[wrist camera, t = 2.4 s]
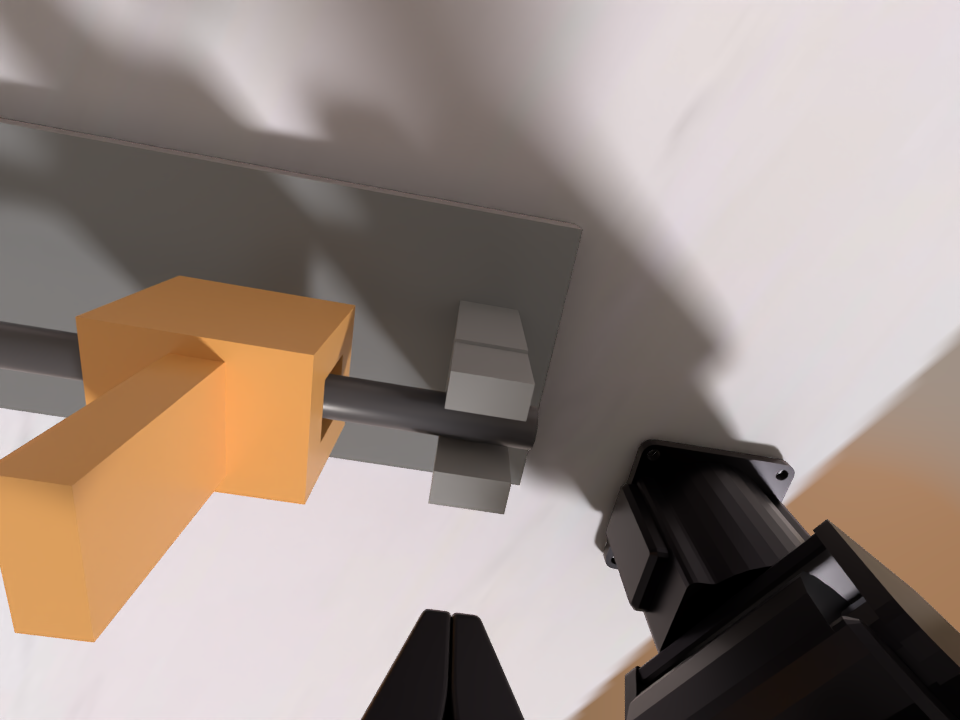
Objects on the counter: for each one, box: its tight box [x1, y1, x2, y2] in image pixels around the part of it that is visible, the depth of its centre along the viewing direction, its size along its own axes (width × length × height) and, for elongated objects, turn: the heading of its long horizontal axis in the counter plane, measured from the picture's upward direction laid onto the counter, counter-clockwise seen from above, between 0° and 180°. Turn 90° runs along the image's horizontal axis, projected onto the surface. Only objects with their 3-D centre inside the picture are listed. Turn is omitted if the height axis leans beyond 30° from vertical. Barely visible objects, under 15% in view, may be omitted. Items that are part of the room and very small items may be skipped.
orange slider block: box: [0, 276, 355, 642], centre depth 11 cm, size 5×4×8 cm
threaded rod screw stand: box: [0, 118, 582, 514], centre depth 15 cm, size 29×10×8 cm, turn 80°
